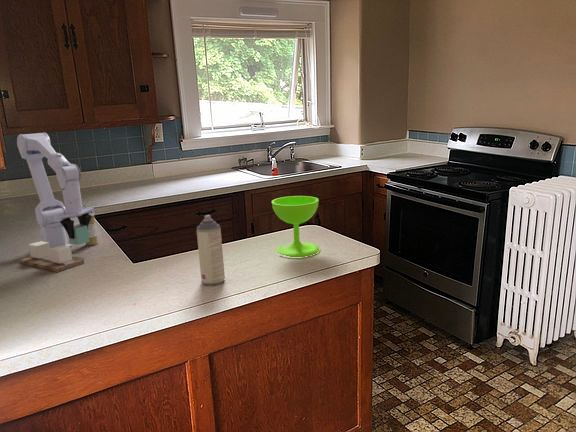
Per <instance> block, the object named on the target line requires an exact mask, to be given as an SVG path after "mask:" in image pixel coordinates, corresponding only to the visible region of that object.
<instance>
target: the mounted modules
mask: <svg viewBox="0 0 576 432" xmlns="http://www.w3.org/2000/svg"><path fill="white" fill-rule="evenodd" d="M28 247H29V253H30V255H31V257H35V258H42V257H46V256H49V255H51V261H52V262H56V263H63V262H66V261H69V260H72V257H73V254H72V249H71V247H72V246H70V247H69V246H64V245H60V246H57V247H54V248H50V244H49V242H44V241H41V240H40V241H36V242H32V243H30V244H28Z"/></svg>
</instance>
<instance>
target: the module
mask: <svg viewBox="0 0 576 432" xmlns="http://www.w3.org/2000/svg"><path fill="white" fill-rule="evenodd" d="M74 236H75V238H74V239H70V238H69V237H68V242H69V244H72V245H75V246H76V245H77V246H79V245H82V244H83V245H84V244H86V242H89V236H88V229H87V226H86V225H80V223H79V224H74Z"/></svg>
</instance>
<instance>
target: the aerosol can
mask: <svg viewBox="0 0 576 432" xmlns="http://www.w3.org/2000/svg"><path fill="white" fill-rule="evenodd" d="M211 217H212V216H211V215H210V214H206V215H204V217H203V218H204V219H203V220H202V221H201V222H200V223H199V225H197V226H196V237H197V238H196V239H197V246H198V247H197V249H198V259H199V260H198V261H199V268H200V269H199V270H200V278H201V279H200V280H201V281H200V282H201V284H202V283H203V284H205V285H204V286H206V285H210V286H209V287H211V285H215V286H218V284H219V285H222V284H223V282H224V281H226V279H225V277H226V276H225V266H224V253H223V242H222V231H221V230H222V229H221V228H222V227H221V225H220V224H219V223H217V222H216V221H215V220H214V219H213V218H211ZM224 279H225V280H224ZM221 283H222V284H221ZM224 283H225V282H224ZM203 284H202V285H203Z"/></svg>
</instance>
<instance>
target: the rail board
mask: <svg viewBox="0 0 576 432" xmlns="http://www.w3.org/2000/svg"><path fill="white" fill-rule="evenodd" d="M72 260H74V263H71V264H68V265H61V264H57V263H53V262H48V261H44V260H40V259H36V258H31V257H30V256H27V257H25V258H22V259H21V258H20V259H19V262H20V264H23V265H27V266H31V267H36V268H39V269H42V270H47V271H52V272H54V273H55V272H56V273H58V272H59V273H60V272H63V271H65V270H67V269H72V268H74V267H77V266H80V265H83V264H84V263H85V259H83V258H78V257H73V256H72Z"/></svg>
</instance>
